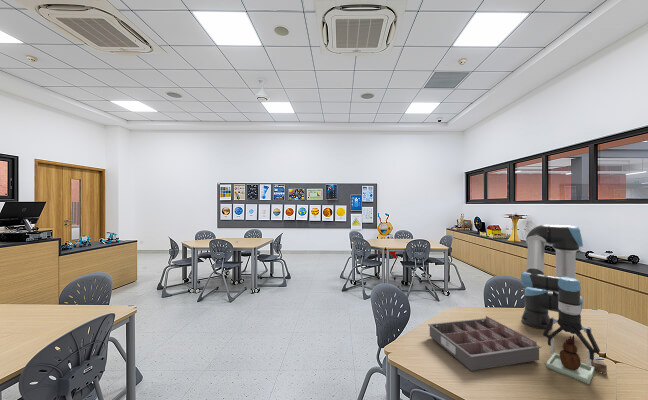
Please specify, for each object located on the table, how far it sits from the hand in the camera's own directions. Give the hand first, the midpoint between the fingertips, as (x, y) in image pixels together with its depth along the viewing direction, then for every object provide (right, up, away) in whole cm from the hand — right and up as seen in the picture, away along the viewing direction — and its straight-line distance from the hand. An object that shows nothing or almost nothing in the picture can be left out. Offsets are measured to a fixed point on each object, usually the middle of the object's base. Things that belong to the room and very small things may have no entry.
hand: (570, 359), depth 117 cm
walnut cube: (+13, -5, -1) cm, 14 cm away
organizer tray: (-32, -5, +16) cm, 36 cm away
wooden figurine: (0, -4, 0) cm, 4 cm away
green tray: (0, -5, 0) cm, 5 cm away
